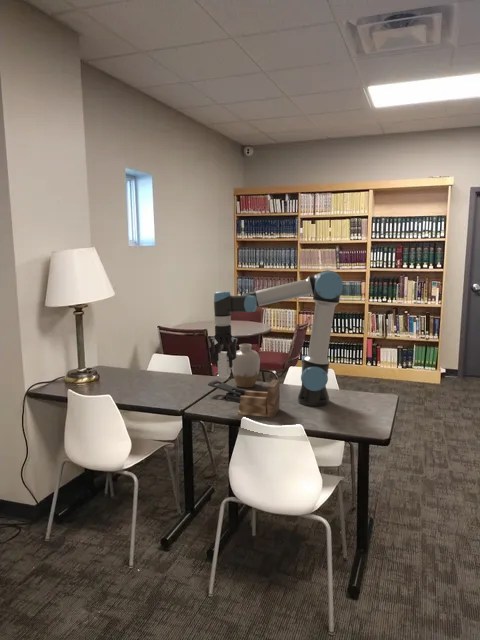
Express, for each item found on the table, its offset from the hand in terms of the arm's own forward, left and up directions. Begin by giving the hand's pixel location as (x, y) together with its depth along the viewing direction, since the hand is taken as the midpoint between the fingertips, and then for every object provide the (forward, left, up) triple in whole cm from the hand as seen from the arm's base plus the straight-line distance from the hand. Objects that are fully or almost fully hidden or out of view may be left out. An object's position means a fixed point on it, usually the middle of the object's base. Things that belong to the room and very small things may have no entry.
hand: (224, 373), depth 224 cm
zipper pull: (+2, -15, -17) cm, 23 cm away
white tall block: (0, 0, -2) cm, 2 cm away
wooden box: (-17, +2, -16) cm, 24 cm away
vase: (0, -39, -17) cm, 42 cm away
